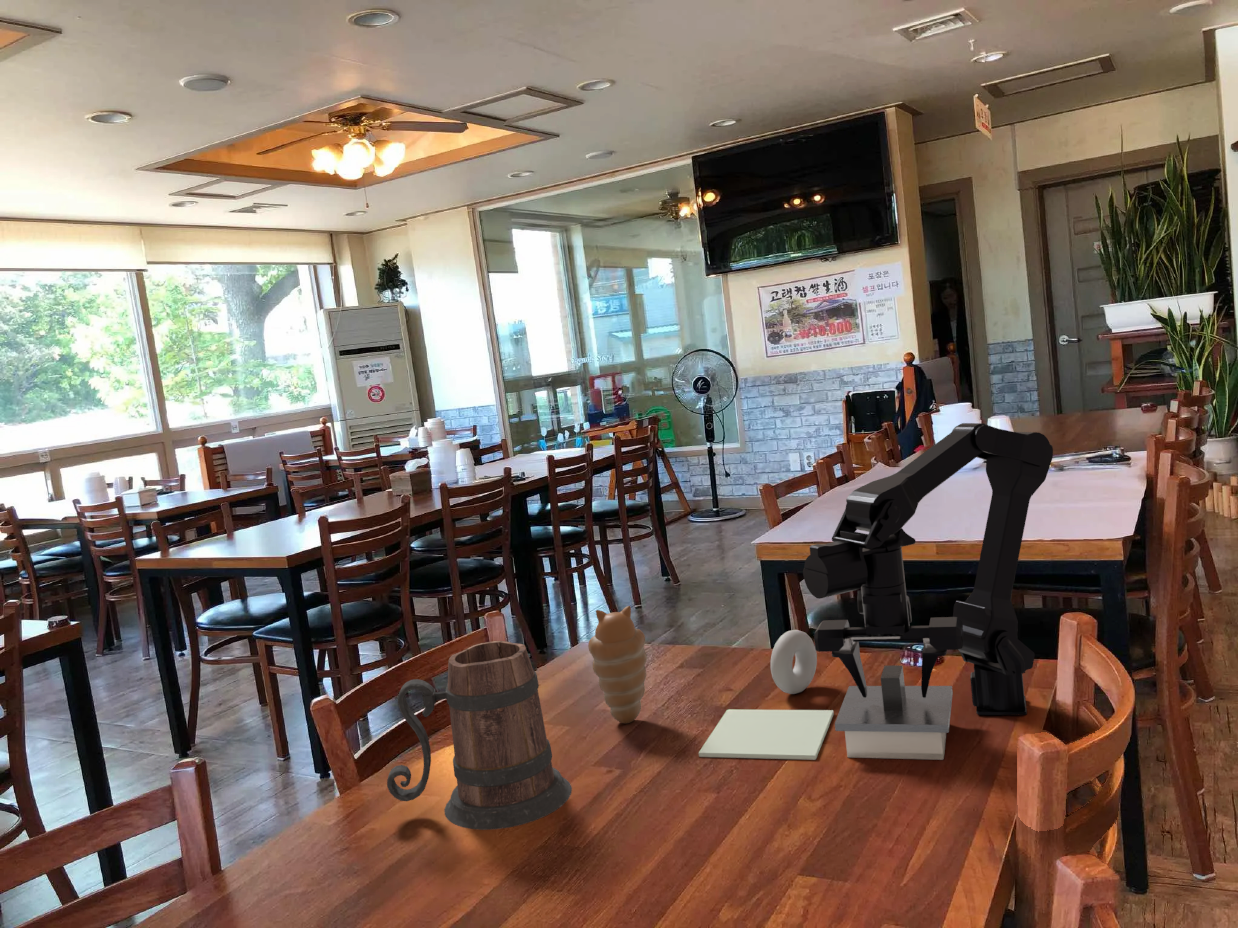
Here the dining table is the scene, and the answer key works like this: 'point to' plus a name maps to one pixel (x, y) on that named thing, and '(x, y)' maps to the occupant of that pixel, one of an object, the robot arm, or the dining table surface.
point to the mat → (768, 734)
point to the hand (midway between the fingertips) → (894, 696)
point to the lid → (895, 707)
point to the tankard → (489, 740)
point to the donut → (783, 659)
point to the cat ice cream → (619, 663)
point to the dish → (895, 745)
